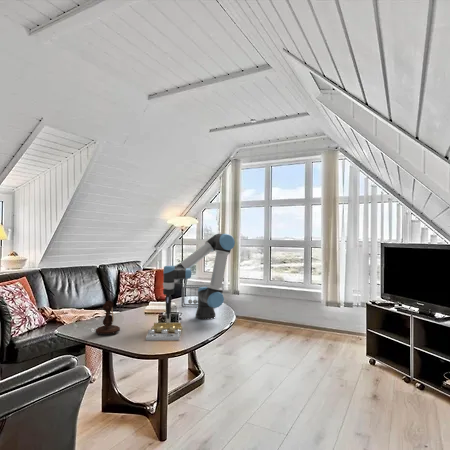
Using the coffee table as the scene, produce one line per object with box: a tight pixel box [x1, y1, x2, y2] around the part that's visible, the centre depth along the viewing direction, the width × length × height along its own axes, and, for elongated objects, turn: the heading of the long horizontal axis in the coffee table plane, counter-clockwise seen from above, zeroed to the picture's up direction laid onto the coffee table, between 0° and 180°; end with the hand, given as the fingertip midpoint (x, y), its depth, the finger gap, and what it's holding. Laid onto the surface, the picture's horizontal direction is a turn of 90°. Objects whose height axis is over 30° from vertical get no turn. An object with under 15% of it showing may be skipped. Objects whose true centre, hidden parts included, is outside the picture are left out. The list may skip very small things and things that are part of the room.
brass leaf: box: [150, 322, 184, 333], centre depth 231 cm, size 20×11×4 cm, turn 92°
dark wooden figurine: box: [95, 300, 121, 336], centre depth 226 cm, size 15×15×20 cm
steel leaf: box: [145, 329, 182, 341], centre depth 217 cm, size 20×11×4 cm, turn 92°
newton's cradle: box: [181, 284, 210, 308], centre depth 307 cm, size 30×10×18 cm, turn 88°
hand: (168, 322), depth 242 cm, fingers closed
